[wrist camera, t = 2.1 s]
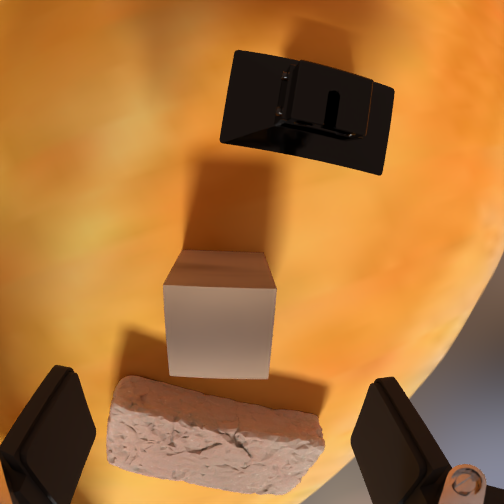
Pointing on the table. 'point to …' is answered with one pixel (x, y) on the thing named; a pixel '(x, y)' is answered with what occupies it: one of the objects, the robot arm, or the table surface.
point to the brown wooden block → (219, 315)
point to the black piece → (307, 111)
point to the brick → (209, 438)
